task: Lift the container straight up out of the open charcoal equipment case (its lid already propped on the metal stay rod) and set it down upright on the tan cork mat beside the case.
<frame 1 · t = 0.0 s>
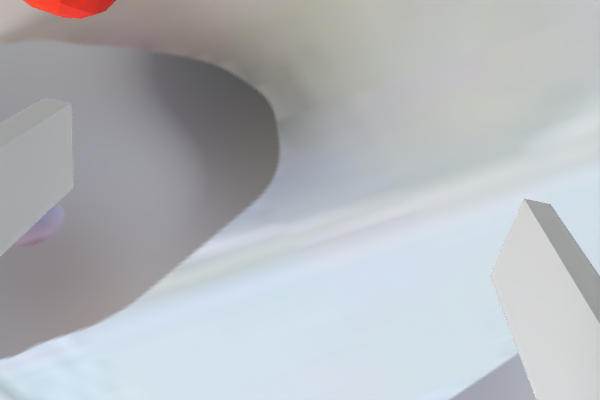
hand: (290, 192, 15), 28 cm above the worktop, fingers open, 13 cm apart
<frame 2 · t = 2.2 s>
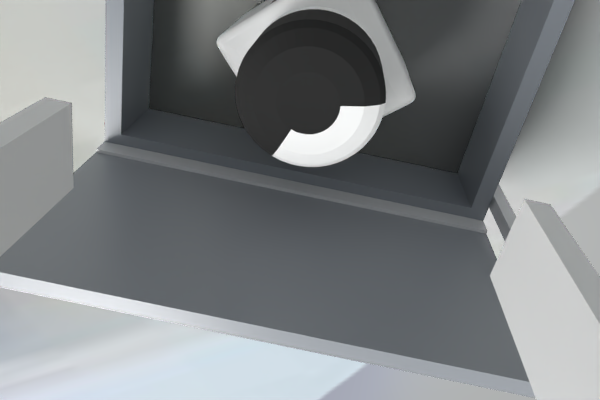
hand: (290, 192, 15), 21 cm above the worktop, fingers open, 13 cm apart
case: (324, 40, 33), on the worktop
container: (324, 39, 34), resting in case
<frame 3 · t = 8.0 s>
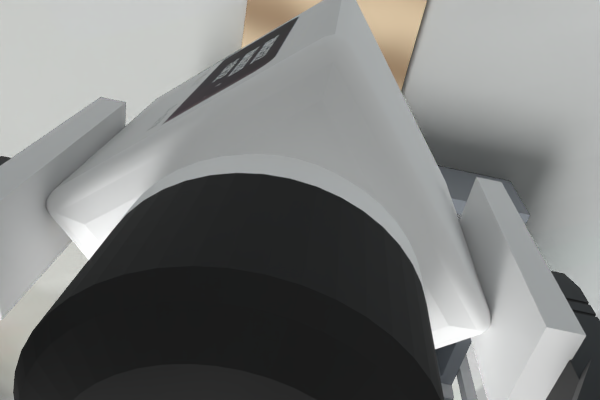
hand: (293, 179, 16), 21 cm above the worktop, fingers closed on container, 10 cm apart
case: (325, 238, 42), on the worktop
container: (302, 141, 19), point 18 cm above the worktop, touching gripper
mat: (327, 40, 35), on the worktop
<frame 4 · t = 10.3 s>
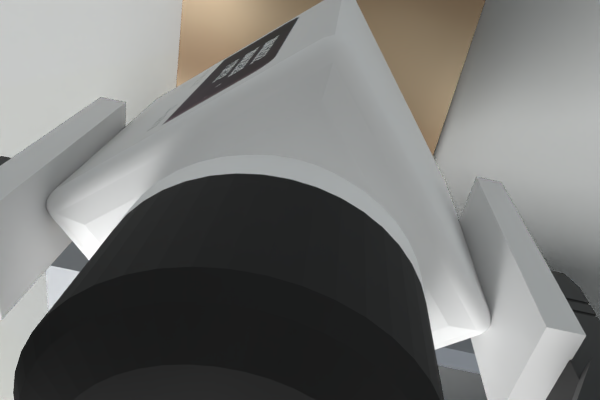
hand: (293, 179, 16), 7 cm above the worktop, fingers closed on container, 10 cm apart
case: (310, 371, 29), on the worktop
container: (302, 142, 19), point 4 cm above the worktop, touching gripper
mat: (308, 106, 22), on the worktop
when the fingers open (5 cm above the worktop, at t = 11.9 s): container drops 1 cm, resting on mat.
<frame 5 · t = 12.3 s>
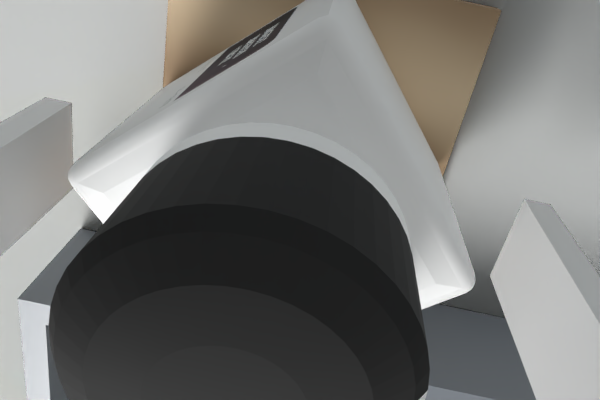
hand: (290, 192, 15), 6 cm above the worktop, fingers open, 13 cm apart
container: (302, 126, 20), resting on mat
mat: (306, 125, 20), on the worktop
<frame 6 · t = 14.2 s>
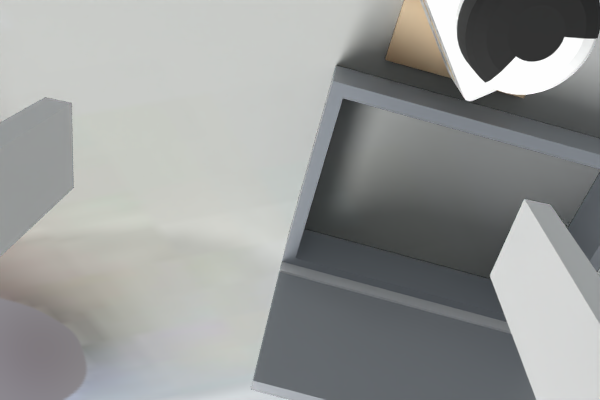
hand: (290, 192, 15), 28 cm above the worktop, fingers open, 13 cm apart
case: (445, 193, 45), on the worktop
container: (481, 3, 38), resting on mat
mat: (482, 4, 38), on the worktop
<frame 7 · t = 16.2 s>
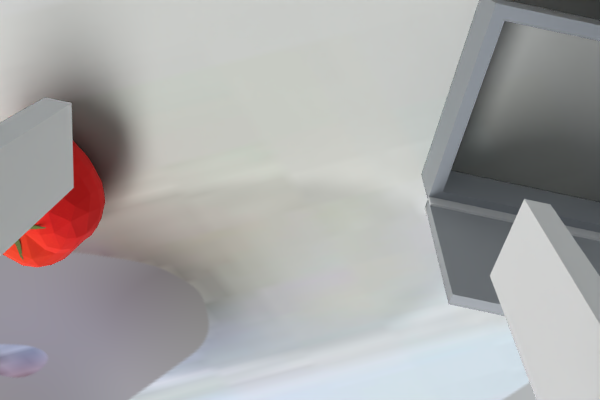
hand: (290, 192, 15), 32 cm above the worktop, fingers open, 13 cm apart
tomato: (66, 173, 53), on the worktop
case: (585, 121, 45), on the worktop
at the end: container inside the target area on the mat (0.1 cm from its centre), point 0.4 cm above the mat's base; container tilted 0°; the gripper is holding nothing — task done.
